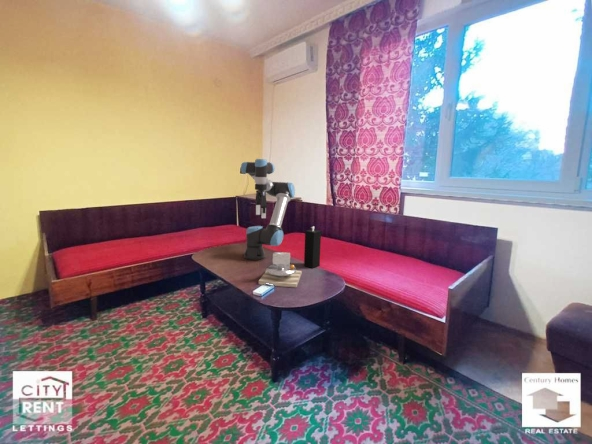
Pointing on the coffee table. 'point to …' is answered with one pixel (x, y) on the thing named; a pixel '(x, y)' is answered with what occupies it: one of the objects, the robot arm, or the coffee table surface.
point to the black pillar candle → (312, 248)
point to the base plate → (281, 279)
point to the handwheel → (281, 265)
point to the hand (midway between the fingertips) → (260, 216)
